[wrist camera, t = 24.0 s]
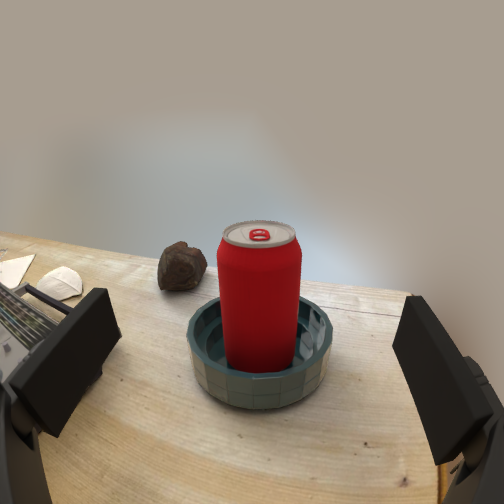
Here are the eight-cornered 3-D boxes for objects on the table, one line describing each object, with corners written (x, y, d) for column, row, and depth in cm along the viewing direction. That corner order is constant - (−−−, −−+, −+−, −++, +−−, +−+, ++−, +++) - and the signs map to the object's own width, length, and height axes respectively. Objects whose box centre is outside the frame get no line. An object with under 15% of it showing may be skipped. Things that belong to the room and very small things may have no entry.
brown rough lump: (173, 233, 44) (158, 247, 34) (213, 250, 45) (208, 269, 35) (160, 268, 45) (142, 290, 35) (198, 284, 46) (190, 311, 36)
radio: (-78, 323, 16) (19, 264, 33) (-61, 356, 18) (29, 295, 35) (-41, 438, 8) (120, 307, 25) (0, 477, 10) (133, 350, 27)
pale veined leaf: (19, 284, 35) (25, 296, 36) (61, 300, 32) (68, 314, 33) (49, 258, 41) (54, 270, 42) (94, 267, 38) (99, 281, 40)
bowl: (328, 331, 30) (334, 296, 28) (319, 424, 19) (328, 389, 17) (219, 317, 33) (216, 283, 31) (172, 395, 22) (160, 358, 20)
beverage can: (289, 334, 28) (295, 217, 24) (298, 379, 23) (312, 245, 18) (226, 336, 28) (218, 219, 24) (223, 382, 23) (210, 248, 18)
